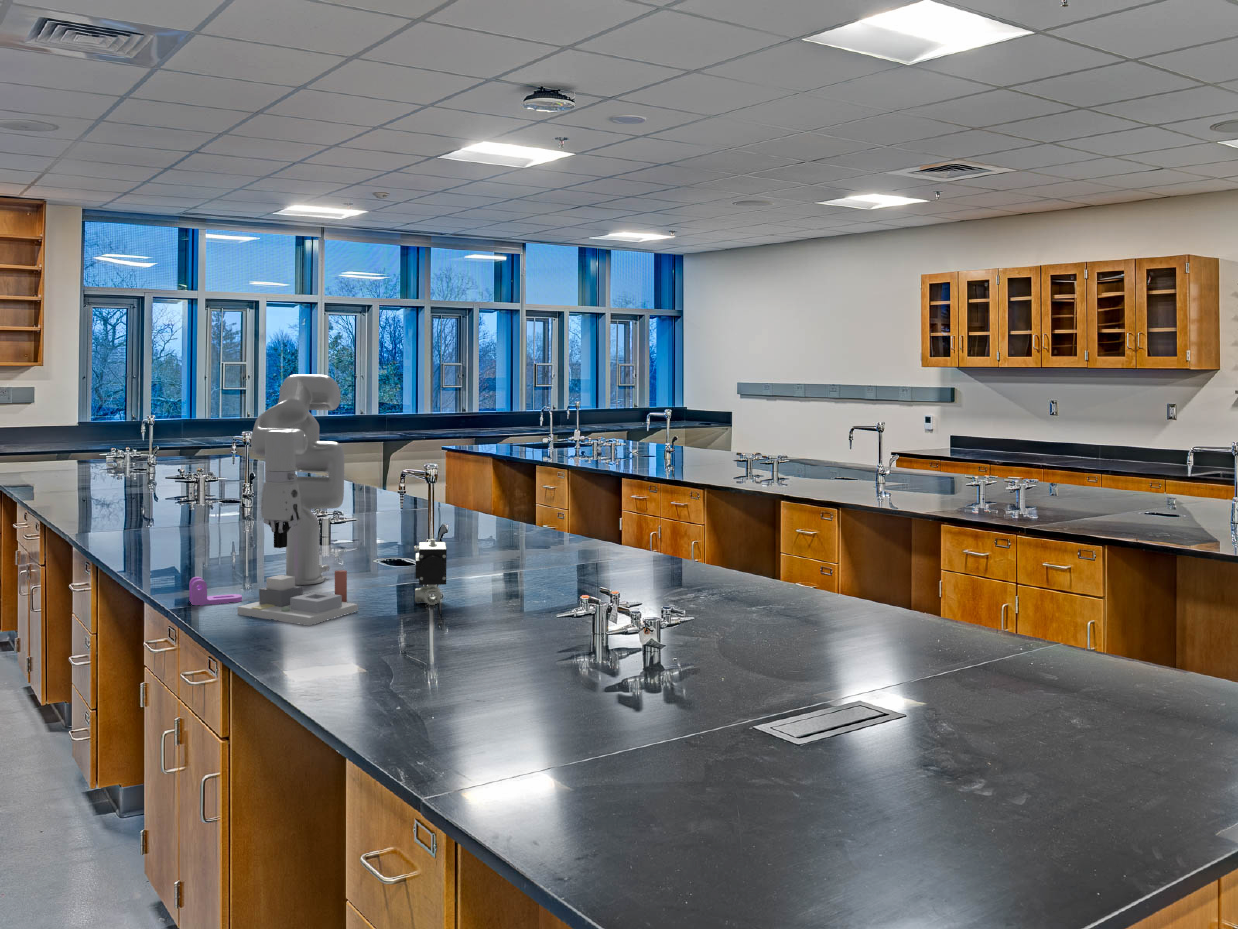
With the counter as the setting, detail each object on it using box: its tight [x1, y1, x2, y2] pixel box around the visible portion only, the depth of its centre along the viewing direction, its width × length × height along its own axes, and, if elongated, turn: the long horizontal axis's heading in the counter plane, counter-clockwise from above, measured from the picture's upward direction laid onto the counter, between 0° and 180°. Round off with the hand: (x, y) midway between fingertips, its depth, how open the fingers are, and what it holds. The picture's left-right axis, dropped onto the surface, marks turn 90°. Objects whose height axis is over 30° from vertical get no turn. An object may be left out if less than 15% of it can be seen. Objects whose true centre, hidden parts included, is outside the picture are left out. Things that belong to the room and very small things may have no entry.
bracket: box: [188, 576, 243, 606], centre depth 275 cm, size 13×6×7 cm, turn 120°
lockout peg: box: [334, 569, 348, 603], centre depth 276 cm, size 3×3×9 cm
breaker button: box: [266, 574, 296, 591], centre depth 266 cm, size 5×5×4 cm
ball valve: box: [413, 538, 448, 606], centre depth 279 cm, size 18×8×18 cm, turn 11°
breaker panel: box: [237, 585, 359, 626], centre depth 264 cm, size 18×24×6 cm
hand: (280, 547), depth 265 cm, fingers closed
